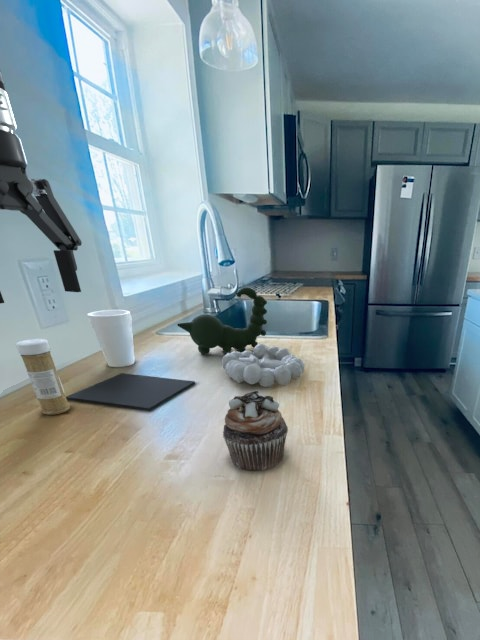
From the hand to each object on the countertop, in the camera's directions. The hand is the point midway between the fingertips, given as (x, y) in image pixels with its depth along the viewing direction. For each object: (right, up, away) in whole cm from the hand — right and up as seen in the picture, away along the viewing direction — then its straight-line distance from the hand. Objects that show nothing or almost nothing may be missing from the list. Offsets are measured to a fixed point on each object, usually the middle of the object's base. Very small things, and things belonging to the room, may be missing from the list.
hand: (37, 296), depth 59 cm
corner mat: (+5, -13, +21) cm, 25 cm away
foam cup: (-8, -3, +39) cm, 40 cm away
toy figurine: (+17, +2, +50) cm, 53 cm away
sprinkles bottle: (-5, -18, +12) cm, 22 cm away
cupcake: (+36, -26, -2) cm, 44 cm away
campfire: (+31, -8, +32) cm, 45 cm away
